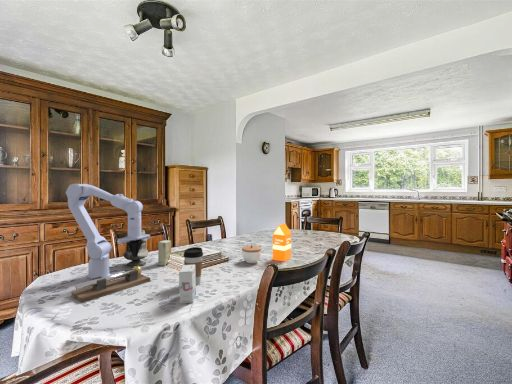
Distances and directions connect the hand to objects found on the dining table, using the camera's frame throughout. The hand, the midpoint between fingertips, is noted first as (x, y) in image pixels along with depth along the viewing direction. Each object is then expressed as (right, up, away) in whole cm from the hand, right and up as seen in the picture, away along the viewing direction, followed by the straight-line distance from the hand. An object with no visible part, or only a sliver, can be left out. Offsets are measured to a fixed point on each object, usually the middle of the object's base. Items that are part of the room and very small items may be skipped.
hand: (134, 256), depth 124 cm
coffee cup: (+29, -10, -8) cm, 32 cm away
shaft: (-4, -8, -14) cm, 17 cm away
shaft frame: (-3, -10, -13) cm, 17 cm away
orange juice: (+71, -9, +32) cm, 78 cm away
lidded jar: (+54, -9, +25) cm, 60 cm away
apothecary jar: (-8, -9, +19) cm, 22 cm away
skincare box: (+7, -9, +20) cm, 23 cm away
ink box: (+30, -11, -22) cm, 39 cm away
